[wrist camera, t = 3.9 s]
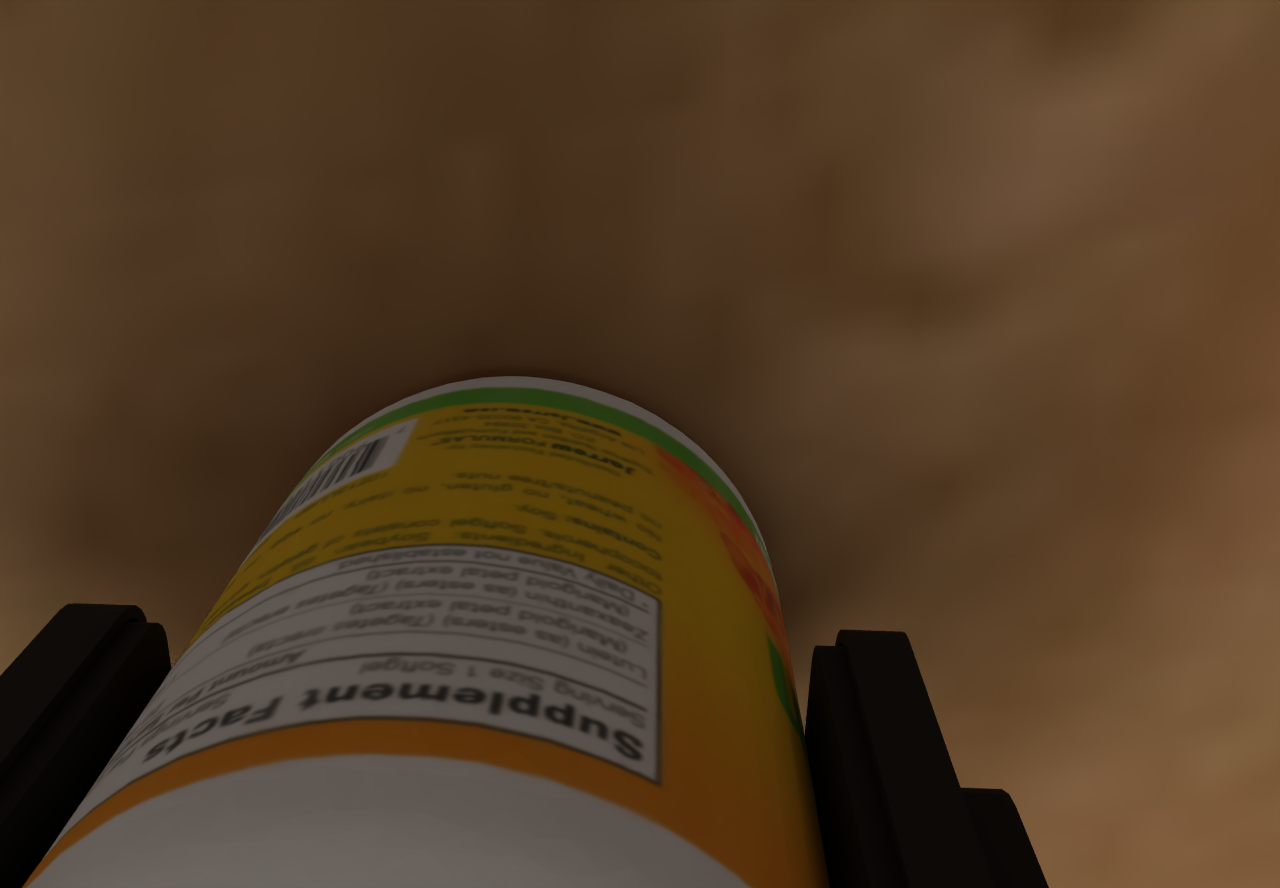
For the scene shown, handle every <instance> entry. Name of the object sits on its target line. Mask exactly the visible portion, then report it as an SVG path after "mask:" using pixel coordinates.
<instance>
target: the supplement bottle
mask: <svg viewBox="0 0 1280 888" xmlns="http://www.w3.org/2000/svg"><path fill="white" fill-rule="evenodd" d="M22 888H830V883H829V877H828V872H827V866H826V860H825V855H824V849H823V843H822V838H821V831H820V825H819V819H818V812H817V806H816V800H815V793H814V787H813V781H812V776H811V770H810V764H809V758H808V753H807V747H806V741H805V736H804V731H803V725H802V720H801V715H800V710H799V704H798V699H797V693H796V688H795V683H794V677H793V672H792V666H791V660H790V654H789V648H788V643H787V637H786V632H785V626H784V621H783V616H782V612H781V606H780V599H779V594H778V589H777V584H776V581H775V578H774V574H773V571H772V566H771V562H770V559H769V556H768V553H767V549H766V546H765V543H764V540H763V538H762V535H761V533H760V531H759V528H758V526H757V523H756V522H755V520H754V518H753V516H752V514H751V512H750V510H749V509H748V507H747V505H746V503H745V502H744V500H743V498H742V497H741V495H740V493H739V491H738V490H737V489H736V487H735V486H734V485H733V484H732V482H731V481H730V480H729V478H728V477H727V476H726V474H725V473H724V472H723V471H722V470H721V469H720V467H719V466H718V465H717V464H716V463H715V462H714V461H713V460H712V459H711V458H710V457H709V456H708V455H707V454H706V453H705V452H704V451H703V450H702V449H701V448H700V447H699V446H698V445H697V444H696V443H694V442H693V441H692V440H691V439H689V438H688V437H687V436H686V435H685V434H683V433H682V432H681V431H679V430H678V429H676V428H675V427H673V426H672V425H670V424H669V423H667V422H666V421H664V420H663V419H661V418H660V417H658V416H657V415H655V414H653V413H651V412H649V411H647V410H645V409H643V408H641V407H640V406H638V405H636V404H634V403H632V402H629V401H627V400H624V399H621V398H619V397H616V396H613V395H611V394H608V393H606V392H602V391H599V390H596V389H593V388H590V387H586V386H582V385H578V384H574V383H570V382H565V381H559V380H553V379H546V378H537V377H525V376H500V377H485V378H477V379H471V380H465V381H460V382H454V383H449V384H445V385H442V386H439V387H435V388H432V389H428V390H426V391H423V392H420V393H418V394H415V395H412V396H409V397H407V398H404V399H402V400H400V401H398V402H396V403H394V404H392V405H390V406H388V407H386V408H384V409H382V410H380V411H379V412H377V413H375V414H373V415H372V416H370V417H368V418H367V419H365V420H363V421H362V422H361V423H359V424H358V425H356V426H355V427H354V428H352V429H351V430H349V431H348V432H347V433H346V434H344V435H343V436H342V437H341V438H339V439H338V440H337V441H336V442H335V443H334V444H333V445H332V446H331V447H330V448H329V449H328V450H327V451H326V452H325V453H324V454H323V455H322V456H321V457H320V458H319V460H318V461H317V462H316V463H315V464H314V465H313V466H312V467H311V468H310V470H309V471H308V472H307V473H306V475H305V476H304V477H303V478H302V479H301V480H300V482H299V483H298V484H297V485H296V487H295V488H294V489H293V490H292V491H291V493H290V494H289V496H288V497H287V499H286V500H285V501H284V503H283V504H282V506H281V507H280V509H279V510H278V512H277V513H276V515H275V516H274V518H273V519H272V521H271V522H270V523H269V525H268V526H267V528H266V529H265V531H264V532H263V533H262V535H261V536H260V538H259V539H258V541H257V542H256V544H255V545H254V547H253V548H252V550H251V551H250V553H249V554H248V555H247V557H246V558H245V560H244V561H243V563H242V564H241V566H240V567H239V569H238V571H237V572H236V574H235V575H234V576H233V578H232V579H231V581H230V582H229V584H228V585H227V587H226V588H225V590H224V591H223V593H222V594H221V596H220V597H219V599H218V600H217V602H216V603H215V605H214V606H213V608H212V609H211V611H210V612H209V614H208V615H207V617H206V618H205V620H204V621H203V623H202V624H201V626H200V627H199V629H198V630H197V632H196V633H195V635H194V636H193V638H192V639H191V641H190V642H189V644H188V645H187V647H186V648H185V650H184V651H183V653H182V654H181V656H180V657H179V658H178V660H177V661H176V663H175V664H174V666H173V667H172V669H171V670H170V672H169V674H168V675H167V677H166V678H165V680H164V681H163V683H162V684H161V686H160V687H159V689H158V690H157V692H156V693H155V695H154V696H153V698H152V699H151V701H150V702H149V703H148V705H147V706H146V708H145V709H144V711H143V712H142V714H141V715H140V717H139V718H138V720H137V721H136V723H135V724H134V726H133V727H132V729H131V730H130V731H129V733H128V734H127V736H126V737H125V739H124V740H123V742H122V743H121V745H120V746H119V748H118V749H117V751H116V752H115V754H114V755H113V757H112V758H111V760H110V761H109V763H108V764H107V765H106V767H105V768H104V770H103V771H102V773H101V774H100V776H99V777H98V779H97V780H96V782H95V783H94V785H93V786H92V788H91V789H90V791H89V792H88V794H87V795H86V797H85V798H84V800H83V801H82V802H81V804H80V805H79V807H78V808H77V810H76V811H75V812H74V814H73V815H72V817H71V818H70V820H69V821H68V823H67V824H66V826H65V827H64V829H63V830H62V832H61V833H60V835H59V836H58V838H57V839H56V841H55V842H54V843H53V845H52V846H51V848H50V849H49V851H48V852H47V854H46V855H45V857H44V858H43V860H42V861H41V862H40V863H39V865H38V866H37V867H36V869H35V870H34V871H33V873H32V874H31V876H30V877H29V878H28V880H27V881H26V883H25V884H24V885H23V887H22Z"/></svg>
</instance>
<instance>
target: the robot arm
mask: <svg viewBox="0 0 1280 888" xmlns="http://www.w3.org/2000/svg"><path fill="white" fill-rule="evenodd" d="M170 670H171V663H170V656H169V649H168V642H167V637H166V632H165V630H164V628H163V626H162V625H160V624H159V623H147V620H146V617H145V615H144V613H143V611H142V609H140V608H139V607H137V606H136V605H106V604H77V603H74V604H67V605H66V606H64V607H63V608H62V609H60V610H59V612H58V613H57V614H56V615H55V616H54V617H53V618H52V619H51V620H50V621H49V623H48V624H47V625H46V626H45V627H44V628H43V629H42V630H41V631H40V633H39V634H38V635H37V636H36V637H35V638H34V639H33V640H32V641H31V643H30V644H29V645H28V646H27V647H26V648H25V649H24V650H23V651H22V653H21V654H20V655H19V656H18V657H17V658H16V659H15V660H14V661H13V663H12V664H11V665H10V666H9V667H8V668H7V669H6V670H5V671H4V672H3V674H2V675H1V676H0V888H22V887H23V885H24V884H25V883H26V881H27V880H28V878H29V877H30V876H31V874H32V873H33V871H34V870H35V869H36V867H37V866H38V865H39V863H40V862H41V861H42V860H43V858H44V857H45V855H46V854H47V852H48V851H49V849H50V848H51V846H52V845H53V843H54V842H55V841H56V839H57V838H58V836H59V835H60V833H61V832H62V830H63V829H64V827H65V826H66V824H67V823H68V821H69V820H70V818H71V817H72V815H73V814H74V812H75V811H76V810H77V808H78V807H79V805H80V804H81V802H82V801H83V800H84V798H85V797H86V795H87V794H88V792H89V791H90V789H91V788H92V786H93V785H94V783H95V782H96V780H97V779H98V777H99V776H100V774H101V773H102V771H103V770H104V768H105V767H106V765H107V764H108V763H109V761H110V760H111V758H112V757H113V755H114V754H115V752H116V751H117V749H118V748H119V746H120V745H121V743H122V742H123V740H124V739H125V737H126V736H127V734H128V733H129V731H130V730H131V729H132V727H133V726H134V724H135V723H136V721H137V720H138V718H139V717H140V715H141V714H142V712H143V711H144V709H145V708H146V706H147V705H148V703H149V702H150V701H151V699H152V698H153V696H154V695H155V693H156V692H157V690H158V689H159V687H160V686H161V684H162V683H163V681H164V680H165V678H166V677H167V675H168V674H169V672H170ZM805 741H806V747H807V753H808V758H809V764H810V770H811V776H812V781H813V787H814V793H815V800H816V806H817V812H818V819H819V825H820V831H821V838H822V843H823V849H824V855H825V860H826V866H827V872H828V877H829V883H830V888H1049V887H1048V885H1047V882H1046V880H1045V877H1044V875H1043V872H1042V870H1041V867H1040V865H1039V862H1038V860H1037V857H1036V855H1035V852H1034V850H1033V848H1032V845H1031V843H1030V840H1029V838H1028V835H1027V833H1026V830H1025V828H1024V825H1023V823H1022V820H1021V818H1020V815H1019V813H1018V811H1017V808H1016V806H1015V804H1014V802H1013V801H1012V799H1011V797H1010V795H1009V794H1008V793H1007V792H1005V791H1004V790H1002V789H982V788H960V785H959V782H958V779H957V776H956V774H955V771H954V768H953V765H952V762H951V759H950V756H949V753H948V751H947V748H946V745H945V742H944V739H943V736H942V733H941V731H940V728H939V725H938V722H937V719H936V716H935V713H934V710H933V708H932V705H931V702H930V699H929V696H928V693H927V690H926V687H925V685H924V682H923V679H922V676H921V673H920V670H919V667H918V665H917V662H916V659H915V656H914V653H913V650H912V647H911V644H910V642H909V639H908V637H907V635H906V633H904V632H895V631H866V630H840V631H839V633H838V635H837V639H836V644H835V646H815V648H814V651H813V656H812V664H811V675H810V685H809V696H808V706H807V717H806V727H805Z"/></svg>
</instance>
